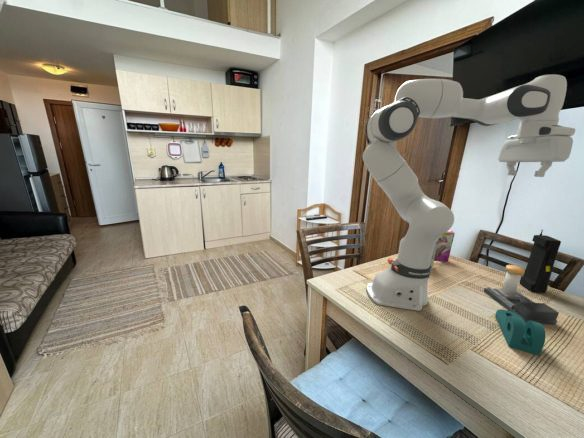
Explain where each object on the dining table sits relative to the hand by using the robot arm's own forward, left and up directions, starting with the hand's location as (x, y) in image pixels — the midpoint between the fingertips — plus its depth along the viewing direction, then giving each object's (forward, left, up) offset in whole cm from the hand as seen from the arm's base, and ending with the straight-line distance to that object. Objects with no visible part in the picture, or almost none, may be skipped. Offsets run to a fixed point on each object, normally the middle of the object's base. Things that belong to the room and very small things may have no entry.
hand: (524, 176), depth 80 cm
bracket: (-5, -18, -48) cm, 51 cm away
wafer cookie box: (-2, +36, -47) cm, 59 cm away
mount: (+7, -4, -47) cm, 48 cm away
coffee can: (-13, +28, -47) cm, 56 cm away
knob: (+7, +1, -46) cm, 46 cm away
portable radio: (+25, +10, -47) cm, 54 cm away
